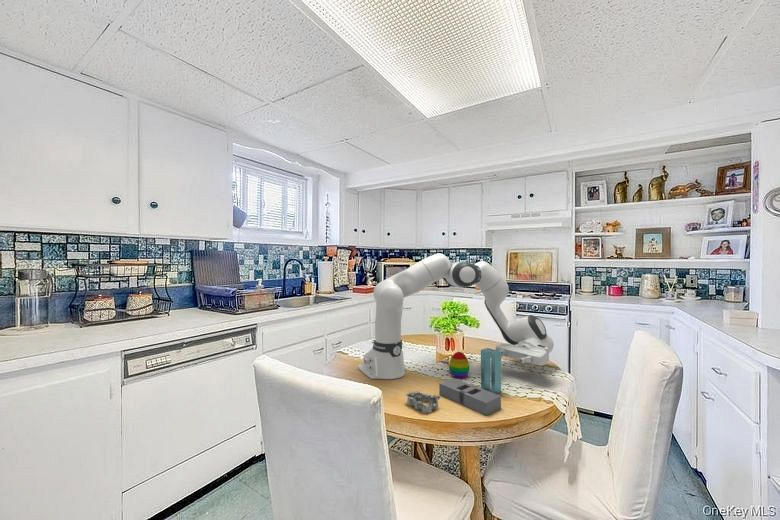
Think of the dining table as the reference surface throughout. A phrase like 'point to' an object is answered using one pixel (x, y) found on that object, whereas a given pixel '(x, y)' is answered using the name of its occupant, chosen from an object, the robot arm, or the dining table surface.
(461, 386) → the grey slotted block
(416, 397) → the egg carton
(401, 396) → the dining table surface
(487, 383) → the clip
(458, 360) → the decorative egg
